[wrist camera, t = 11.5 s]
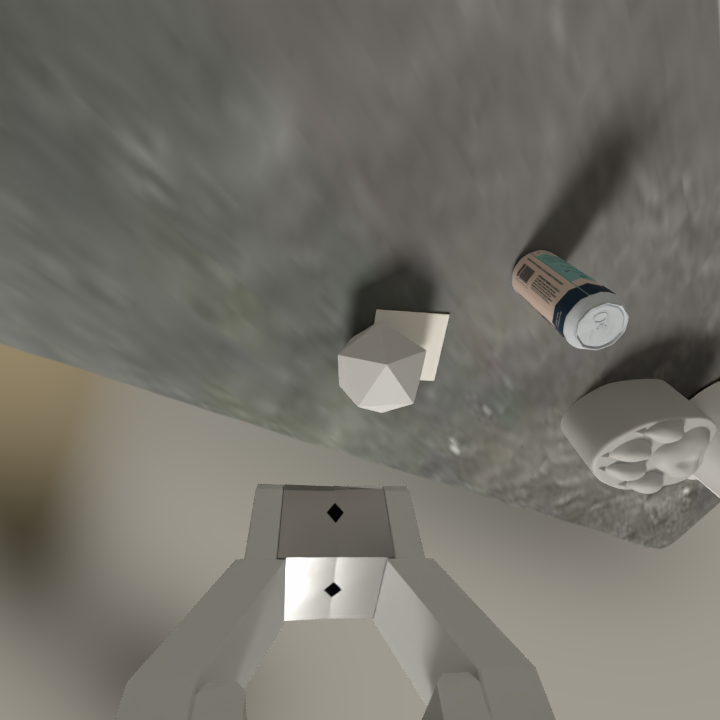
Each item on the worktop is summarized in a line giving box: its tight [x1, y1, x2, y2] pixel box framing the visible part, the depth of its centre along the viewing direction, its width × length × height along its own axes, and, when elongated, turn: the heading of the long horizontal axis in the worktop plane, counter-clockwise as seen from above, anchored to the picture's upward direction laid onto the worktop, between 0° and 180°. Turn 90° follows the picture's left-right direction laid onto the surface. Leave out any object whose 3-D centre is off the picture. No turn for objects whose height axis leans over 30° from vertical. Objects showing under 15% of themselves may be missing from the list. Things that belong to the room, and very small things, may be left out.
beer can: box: [512, 250, 629, 350], centre depth 37 cm, size 5×5×12 cm
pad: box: [374, 309, 449, 381], centre depth 45 cm, size 8×8×1 cm
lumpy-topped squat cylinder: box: [561, 379, 717, 494], centre depth 49 cm, size 10×13×9 cm
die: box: [338, 321, 427, 413], centre depth 42 cm, size 8×9×10 cm
